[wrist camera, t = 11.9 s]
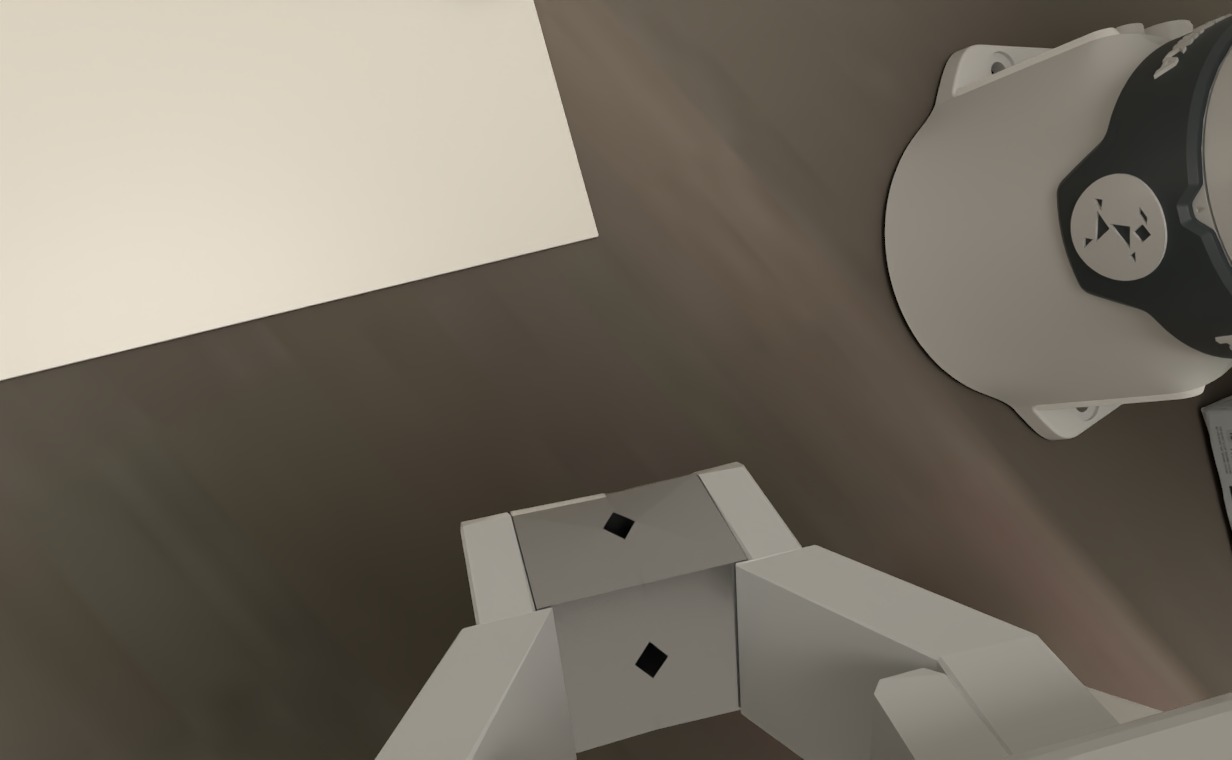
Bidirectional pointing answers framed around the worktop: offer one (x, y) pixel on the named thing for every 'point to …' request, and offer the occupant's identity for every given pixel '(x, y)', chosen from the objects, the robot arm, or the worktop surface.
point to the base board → (262, 160)
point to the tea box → (1222, 444)
